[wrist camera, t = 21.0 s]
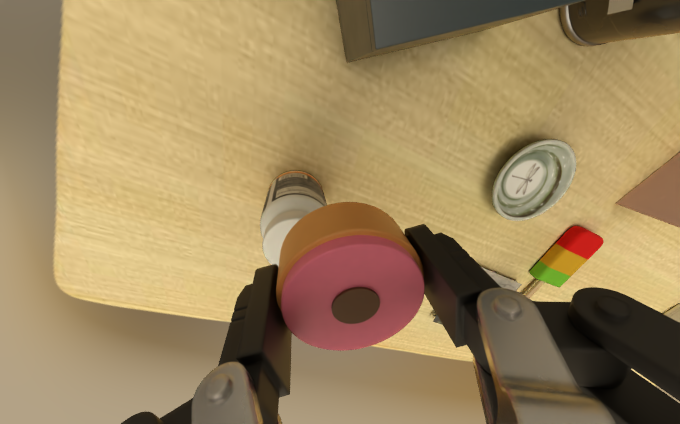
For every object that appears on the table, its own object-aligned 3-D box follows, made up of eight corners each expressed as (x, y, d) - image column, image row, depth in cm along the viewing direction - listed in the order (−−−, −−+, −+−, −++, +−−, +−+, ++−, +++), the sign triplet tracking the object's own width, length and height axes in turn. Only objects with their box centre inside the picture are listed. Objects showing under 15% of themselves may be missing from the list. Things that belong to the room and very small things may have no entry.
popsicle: (594, 233, 36) (609, 240, 35) (524, 305, 42) (533, 314, 40) (572, 222, 35) (586, 228, 33) (501, 298, 40) (510, 307, 38)
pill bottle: (303, 226, 28) (307, 289, 20) (257, 201, 26) (238, 259, 17) (333, 187, 27) (351, 237, 18) (287, 157, 25) (282, 197, 16)
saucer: (496, 134, 27) (513, 138, 25) (571, 136, 28) (593, 140, 26) (471, 213, 31) (483, 223, 29) (537, 211, 33) (553, 220, 31)
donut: (397, 185, 9) (429, 220, 7) (408, 285, 12) (435, 334, 9) (260, 222, 9) (246, 269, 7) (301, 314, 12) (302, 371, 9)
